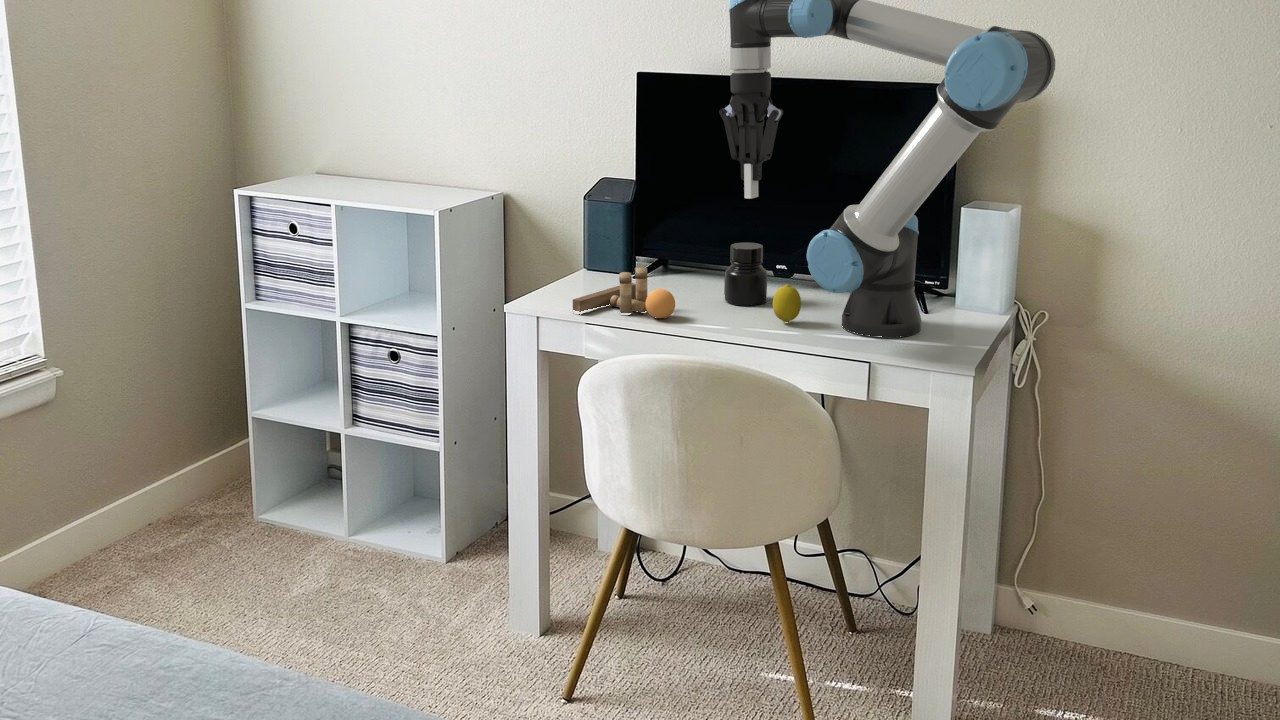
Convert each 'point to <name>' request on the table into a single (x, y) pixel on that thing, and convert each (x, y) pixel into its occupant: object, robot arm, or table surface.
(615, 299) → the pin front
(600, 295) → the rail
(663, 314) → the ball
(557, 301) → the table surface
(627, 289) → the pin
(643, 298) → the pin
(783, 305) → the lemon
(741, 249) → the ink bottle
